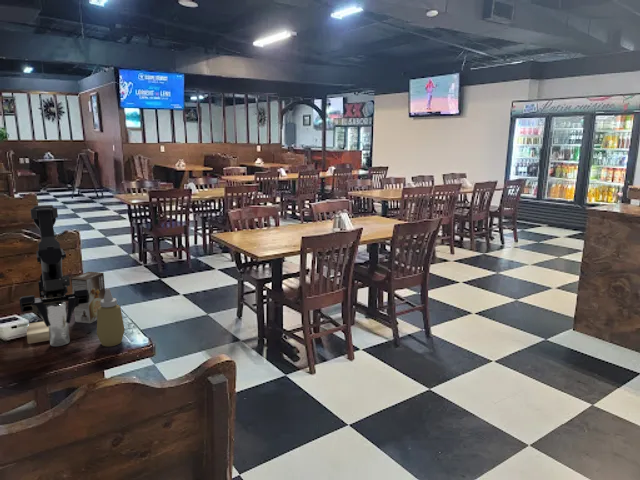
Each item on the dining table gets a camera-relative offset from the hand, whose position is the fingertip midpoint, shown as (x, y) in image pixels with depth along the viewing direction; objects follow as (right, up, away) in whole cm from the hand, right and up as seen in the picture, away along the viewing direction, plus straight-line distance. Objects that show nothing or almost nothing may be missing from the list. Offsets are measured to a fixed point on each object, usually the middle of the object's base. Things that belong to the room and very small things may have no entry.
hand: (58, 324), depth 142 cm
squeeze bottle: (+15, -7, +4) cm, 17 cm away
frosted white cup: (-1, -6, +3) cm, 7 cm away
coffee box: (-1, -2, +24) cm, 24 cm away
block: (-9, -5, +9) cm, 14 cm away
